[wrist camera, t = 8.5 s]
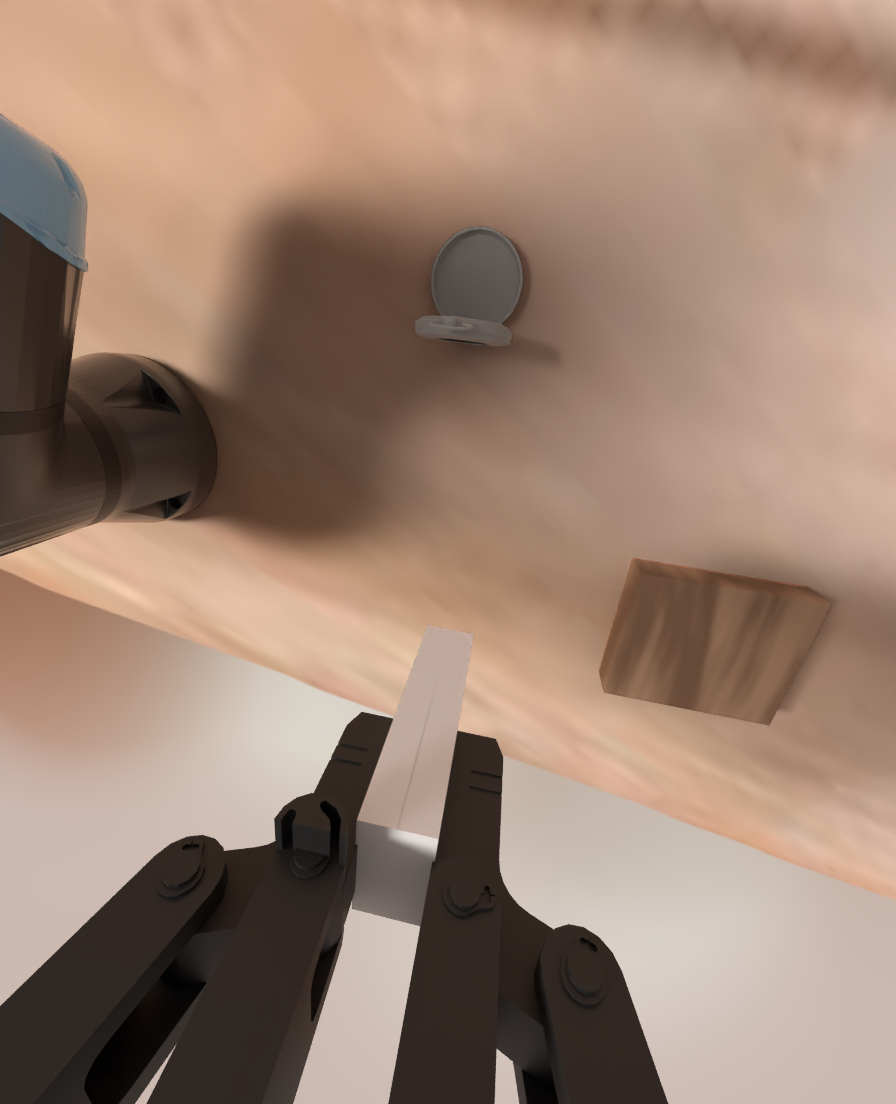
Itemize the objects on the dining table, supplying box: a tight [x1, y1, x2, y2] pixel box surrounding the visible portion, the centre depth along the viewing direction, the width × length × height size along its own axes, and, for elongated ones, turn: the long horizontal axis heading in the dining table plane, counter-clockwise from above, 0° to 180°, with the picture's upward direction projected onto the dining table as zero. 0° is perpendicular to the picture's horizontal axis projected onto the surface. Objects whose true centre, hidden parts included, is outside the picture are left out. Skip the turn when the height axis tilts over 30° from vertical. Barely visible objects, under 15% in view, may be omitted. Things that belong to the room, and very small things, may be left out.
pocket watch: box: [415, 226, 523, 347], centre depth 28 cm, size 8×8×10 cm
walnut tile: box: [599, 558, 832, 725], centre depth 38 cm, size 4×12×14 cm
